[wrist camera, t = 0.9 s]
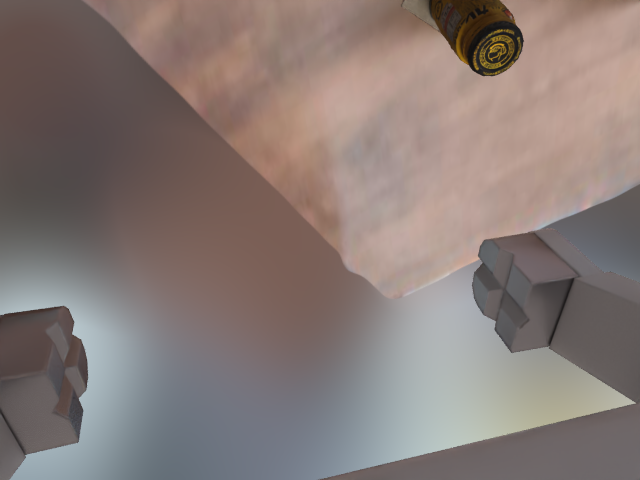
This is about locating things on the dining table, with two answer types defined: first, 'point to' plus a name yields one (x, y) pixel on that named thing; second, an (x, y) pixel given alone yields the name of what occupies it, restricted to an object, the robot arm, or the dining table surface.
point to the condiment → (474, 31)
